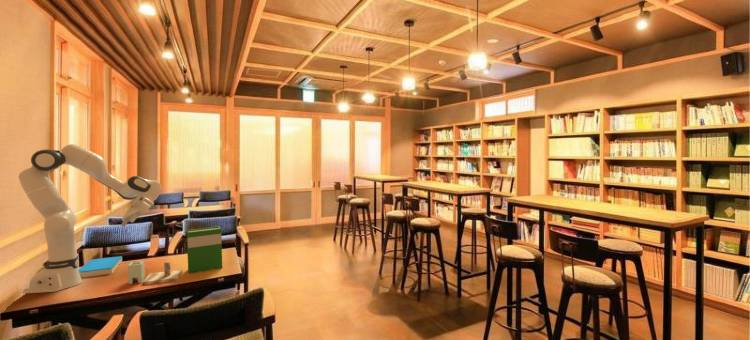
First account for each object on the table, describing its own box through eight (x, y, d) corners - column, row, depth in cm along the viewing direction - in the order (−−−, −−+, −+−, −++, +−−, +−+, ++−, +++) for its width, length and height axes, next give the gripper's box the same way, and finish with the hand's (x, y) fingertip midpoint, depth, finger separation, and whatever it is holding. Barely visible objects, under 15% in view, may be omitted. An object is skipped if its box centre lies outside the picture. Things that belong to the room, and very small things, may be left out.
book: (122, 255, 217) (112, 267, 195) (122, 262, 217) (113, 274, 195) (88, 259, 210) (74, 271, 187) (89, 266, 210) (74, 279, 187)
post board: (142, 284, 178) (142, 269, 177) (150, 275, 191) (149, 261, 190) (177, 280, 183) (176, 265, 183) (182, 272, 196) (181, 257, 196)
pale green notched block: (128, 284, 179) (127, 265, 178) (132, 280, 184) (131, 262, 184) (141, 282, 181) (140, 264, 180) (145, 278, 187) (144, 260, 186)
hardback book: (189, 273, 194) (187, 232, 192) (188, 270, 200) (186, 230, 199) (222, 268, 203) (221, 228, 202) (220, 264, 209) (219, 226, 208)
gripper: (127, 206, 198) (112, 225, 188) (145, 196, 189) (130, 215, 179) (137, 212, 202) (123, 231, 192) (155, 202, 192) (141, 222, 183)
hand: (126, 223), depth 185 cm, fingers open, 8 cm apart
